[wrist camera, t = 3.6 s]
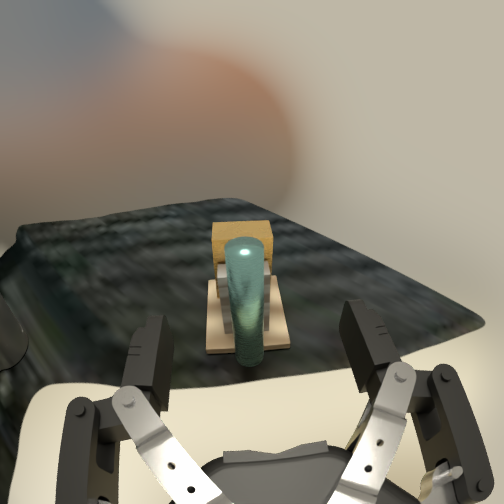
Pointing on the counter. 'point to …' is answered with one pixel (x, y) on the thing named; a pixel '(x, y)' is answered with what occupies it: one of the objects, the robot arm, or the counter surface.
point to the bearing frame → (221, 323)
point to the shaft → (246, 297)
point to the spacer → (232, 230)
